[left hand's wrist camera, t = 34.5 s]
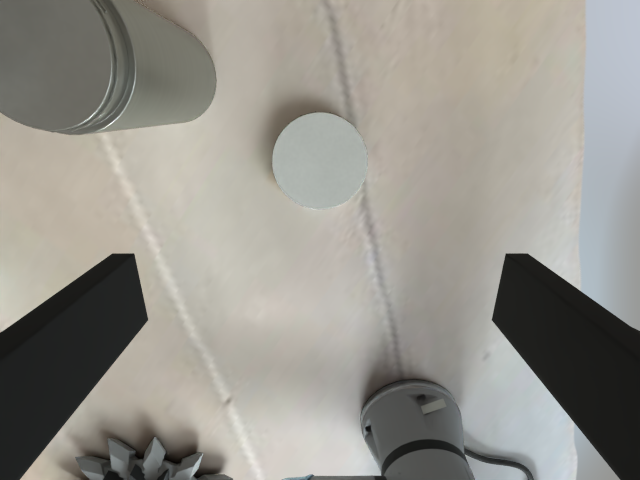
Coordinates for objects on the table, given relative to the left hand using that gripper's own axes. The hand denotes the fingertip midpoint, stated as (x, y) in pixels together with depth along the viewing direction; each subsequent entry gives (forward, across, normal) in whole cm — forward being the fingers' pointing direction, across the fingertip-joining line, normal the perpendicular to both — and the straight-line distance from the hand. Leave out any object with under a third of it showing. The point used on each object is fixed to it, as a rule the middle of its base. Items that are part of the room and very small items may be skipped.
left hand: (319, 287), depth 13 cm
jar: (+30, +16, -9) cm, 35 cm away
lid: (+28, 0, 0) cm, 28 cm away
